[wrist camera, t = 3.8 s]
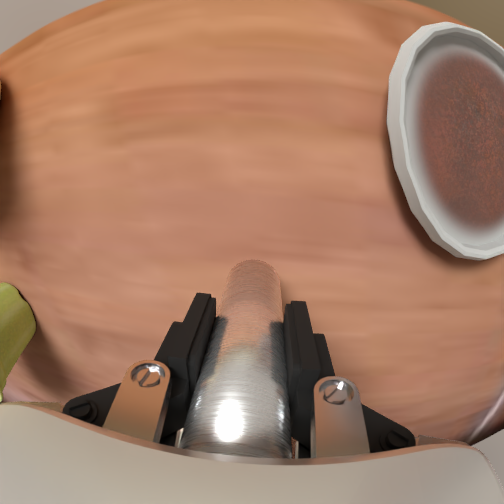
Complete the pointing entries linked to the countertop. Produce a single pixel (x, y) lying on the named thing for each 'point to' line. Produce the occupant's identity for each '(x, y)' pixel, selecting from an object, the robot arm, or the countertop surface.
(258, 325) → the hinge pin
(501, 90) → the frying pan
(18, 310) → the plant pot
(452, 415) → the countertop surface
